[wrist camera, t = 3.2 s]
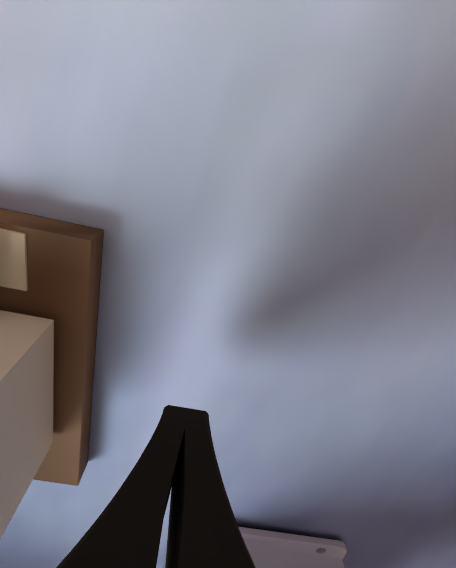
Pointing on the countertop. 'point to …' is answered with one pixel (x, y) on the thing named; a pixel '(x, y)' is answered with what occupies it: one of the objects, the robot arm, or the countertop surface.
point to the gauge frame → (58, 321)
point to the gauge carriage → (23, 404)
